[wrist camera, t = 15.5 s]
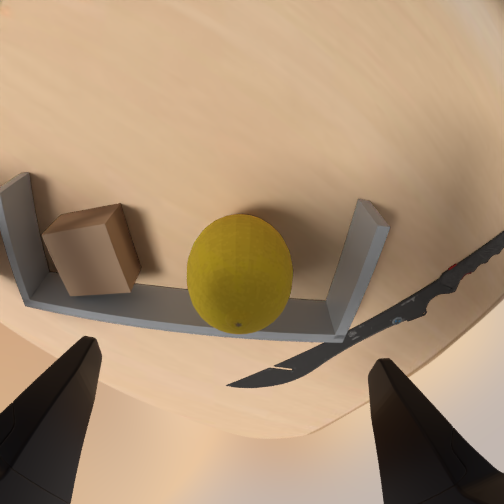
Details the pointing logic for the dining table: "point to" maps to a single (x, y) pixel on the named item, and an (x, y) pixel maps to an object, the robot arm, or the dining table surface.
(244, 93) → the dining table surface
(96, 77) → the dining table surface
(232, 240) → the lemon
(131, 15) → the dining table surface
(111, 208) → the brown wooden block
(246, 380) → the knife
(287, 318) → the frame
